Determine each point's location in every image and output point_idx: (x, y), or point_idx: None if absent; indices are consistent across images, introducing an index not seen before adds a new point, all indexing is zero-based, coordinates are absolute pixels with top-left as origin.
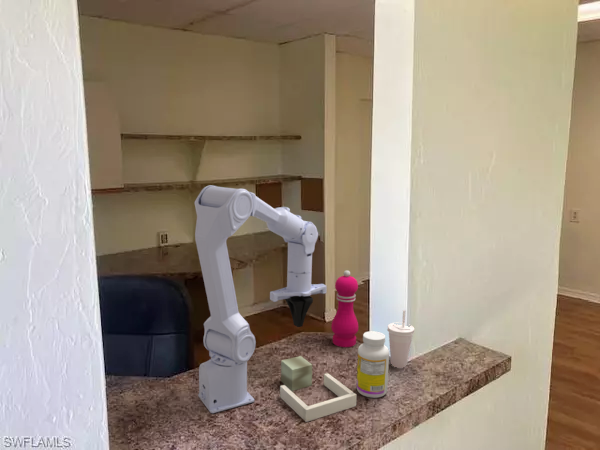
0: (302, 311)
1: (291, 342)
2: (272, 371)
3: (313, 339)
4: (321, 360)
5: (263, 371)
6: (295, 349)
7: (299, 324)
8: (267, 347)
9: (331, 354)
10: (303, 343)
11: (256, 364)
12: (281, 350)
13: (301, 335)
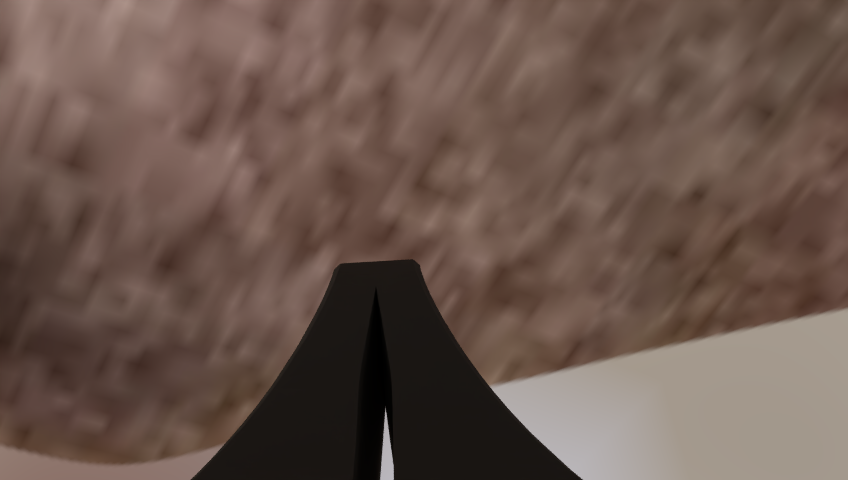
0: (359, 425)
1: (268, 384)
2: (654, 25)
3: (80, 373)
4: (149, 29)
5: (715, 57)
6: (288, 285)
7: (400, 274)
8: None
9: (8, 97)
10: (184, 345)
11: (686, 183)
12: None
13: (150, 446)
